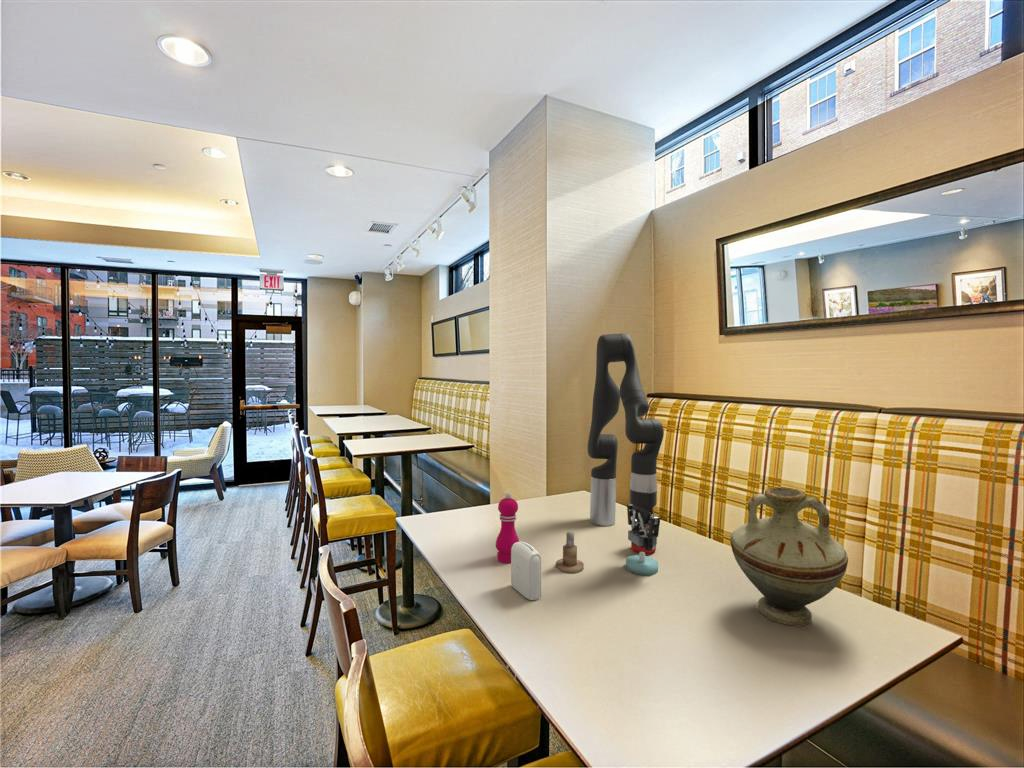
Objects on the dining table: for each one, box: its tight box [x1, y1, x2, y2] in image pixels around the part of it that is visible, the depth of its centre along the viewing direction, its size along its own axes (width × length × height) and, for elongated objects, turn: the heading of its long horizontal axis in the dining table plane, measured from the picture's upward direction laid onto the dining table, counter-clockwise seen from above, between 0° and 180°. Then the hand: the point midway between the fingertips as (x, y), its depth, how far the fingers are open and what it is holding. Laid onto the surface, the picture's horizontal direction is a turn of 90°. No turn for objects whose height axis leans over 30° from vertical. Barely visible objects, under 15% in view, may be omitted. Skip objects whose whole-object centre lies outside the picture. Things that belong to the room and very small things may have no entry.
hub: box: [625, 552, 659, 576], centre depth 134 cm, size 9×9×4 cm
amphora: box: [729, 487, 849, 627], centre depth 109 cm, size 24×24×30 cm
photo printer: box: [510, 541, 542, 601], centre depth 119 cm, size 10×4×12 cm, turn 29°
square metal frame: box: [627, 529, 658, 546], centre depth 134 cm, size 6×6×2 cm
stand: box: [555, 531, 585, 574], centre depth 134 cm, size 8×8×10 cm
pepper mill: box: [495, 492, 520, 564], centre depth 139 cm, size 7×7×20 cm
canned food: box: [630, 514, 657, 556], centre depth 148 cm, size 8×8×11 cm
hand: (642, 545), depth 134 cm, fingers closed on square metal frame, 5 cm apart
